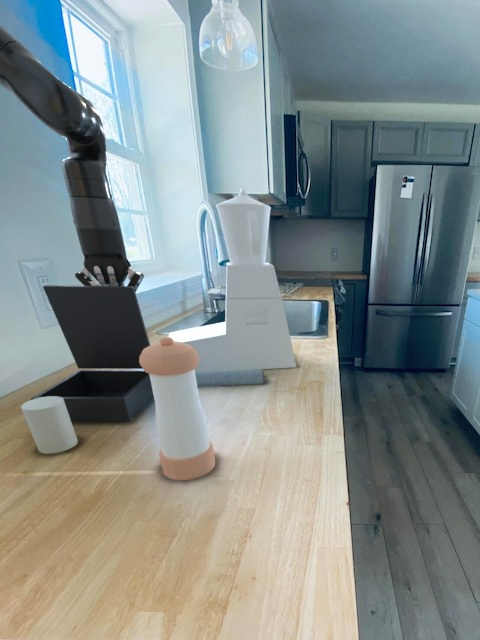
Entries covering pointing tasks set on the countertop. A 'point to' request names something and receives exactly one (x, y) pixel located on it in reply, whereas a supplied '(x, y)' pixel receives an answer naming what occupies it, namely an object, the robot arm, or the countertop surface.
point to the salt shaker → (178, 409)
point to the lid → (100, 324)
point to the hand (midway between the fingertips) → (120, 320)
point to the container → (50, 424)
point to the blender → (245, 299)
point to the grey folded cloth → (230, 377)
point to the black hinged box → (103, 394)
